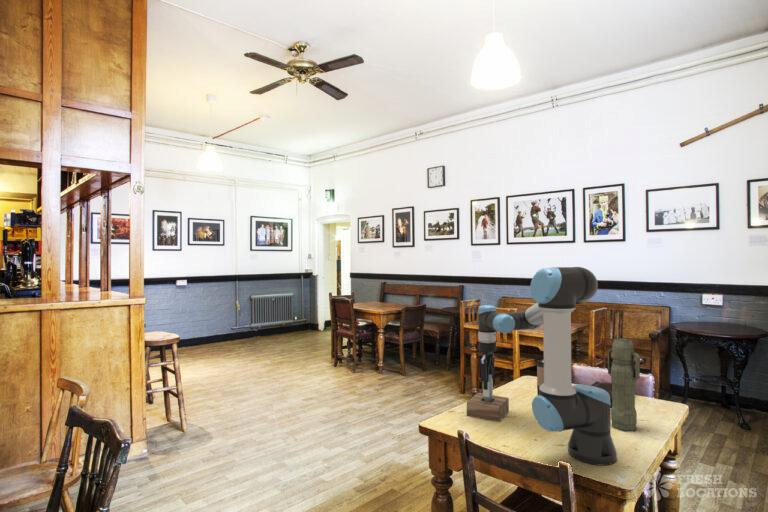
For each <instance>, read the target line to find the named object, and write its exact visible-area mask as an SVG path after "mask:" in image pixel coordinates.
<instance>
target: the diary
mask: <svg viewBox="0 0 768 512" xmlns="http://www.w3.org/2000/svg"><path fill="white" fill-rule="evenodd" d="M590 386H594V387H598V388H601V389H603V390H605V391H607V392H608V393H609V395H610V403H611V408H612V383H611V382H606V381H597V380H596V381H595V382H593V383H592V384H591V385H590Z"/></svg>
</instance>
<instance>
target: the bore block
mask: <svg viewBox="0 0 768 512" xmlns="http://www.w3.org/2000/svg"><path fill="white" fill-rule="evenodd" d="M509 408H510V400H509V397H506V396H500V395H494V394H492V402H486V401H484V396H483V392H482V393H481V392H477V393H475V394H474V395H473V396H472V397H470V399H468V400H467V401H466V417H471V418H477V419H483V420H486V421H492V422H497V423H500V422H501V421H502V420H503V419H504V417H505V416H506V415H507V414H508V413H509V411H510V409H509Z"/></svg>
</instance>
